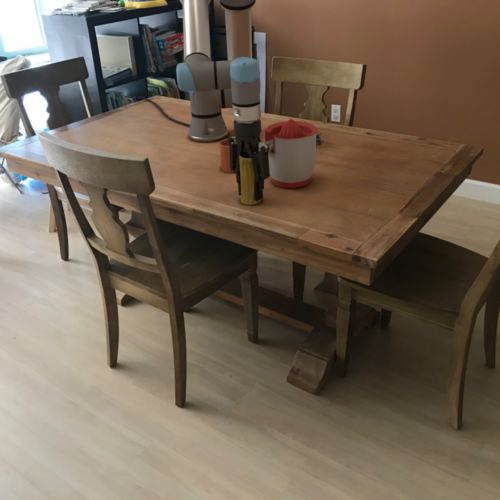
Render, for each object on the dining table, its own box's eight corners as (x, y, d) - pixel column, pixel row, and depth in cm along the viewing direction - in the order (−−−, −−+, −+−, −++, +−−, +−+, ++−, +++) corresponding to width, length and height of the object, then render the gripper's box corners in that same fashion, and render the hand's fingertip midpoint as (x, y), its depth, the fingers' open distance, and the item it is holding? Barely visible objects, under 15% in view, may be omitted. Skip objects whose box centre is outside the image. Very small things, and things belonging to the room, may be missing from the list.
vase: (238, 204, 150) (235, 158, 143) (242, 195, 155) (239, 150, 148) (259, 205, 149) (257, 159, 142) (262, 196, 154) (260, 151, 147)
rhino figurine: (318, 150, 184) (319, 134, 181) (293, 140, 193) (293, 125, 190) (327, 147, 186) (327, 131, 183) (301, 138, 195) (301, 122, 192)
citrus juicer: (253, 178, 166) (250, 117, 155) (301, 167, 171) (301, 108, 161) (274, 197, 153) (273, 132, 143) (325, 185, 159) (327, 121, 148)
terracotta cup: (216, 169, 173) (214, 143, 169) (232, 161, 178) (231, 136, 174) (234, 174, 169) (232, 148, 164) (250, 166, 174) (248, 141, 169)
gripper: (212, 117, 142) (219, 193, 155) (264, 129, 132) (267, 210, 144) (231, 110, 147) (235, 184, 159) (282, 121, 136) (283, 200, 148)
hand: (250, 196), depth 151 cm, fingers closed on vase, 6 cm apart
